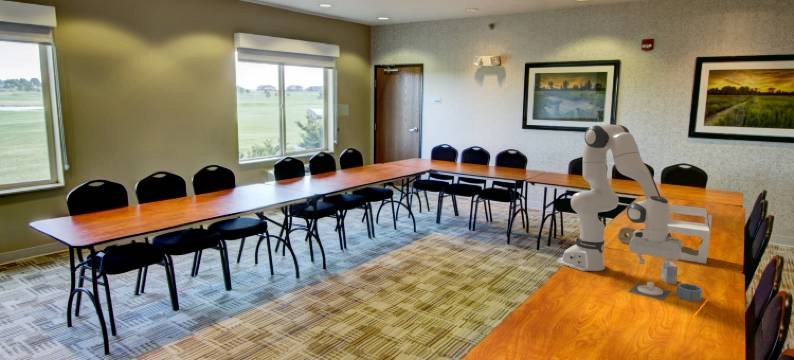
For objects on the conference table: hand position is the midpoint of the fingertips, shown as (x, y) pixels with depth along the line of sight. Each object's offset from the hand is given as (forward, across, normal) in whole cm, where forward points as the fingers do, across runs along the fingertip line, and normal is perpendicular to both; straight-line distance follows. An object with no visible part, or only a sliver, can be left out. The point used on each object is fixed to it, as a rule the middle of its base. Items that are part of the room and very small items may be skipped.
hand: (653, 265), depth 220 cm
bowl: (+13, -13, -5) cm, 19 cm away
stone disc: (+11, +35, -74) cm, 83 cm away
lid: (+12, +1, 0) cm, 12 cm away
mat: (+12, +1, 0) cm, 12 cm away
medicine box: (+12, -1, -21) cm, 25 cm away
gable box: (+12, +4, -69) cm, 71 cm away
